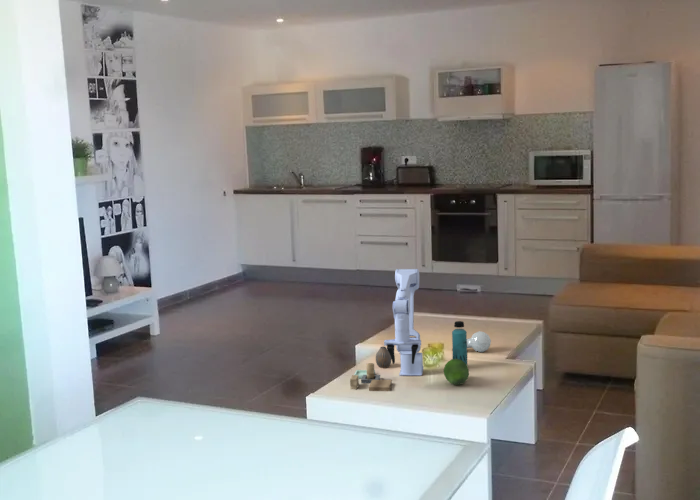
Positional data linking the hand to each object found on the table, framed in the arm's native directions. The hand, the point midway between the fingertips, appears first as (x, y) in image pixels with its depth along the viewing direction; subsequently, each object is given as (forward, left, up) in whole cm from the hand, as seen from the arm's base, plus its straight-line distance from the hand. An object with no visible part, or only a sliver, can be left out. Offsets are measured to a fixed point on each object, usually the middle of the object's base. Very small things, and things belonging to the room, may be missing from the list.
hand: (403, 363), depth 321 cm
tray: (+18, -15, -10) cm, 26 cm away
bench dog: (+20, 0, -10) cm, 22 cm away
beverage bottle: (-22, -29, -10) cm, 37 cm away
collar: (+14, -9, -10) cm, 20 cm away
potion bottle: (-28, -55, -10) cm, 62 cm away
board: (+9, 0, -10) cm, 14 cm away
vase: (+11, -30, -10) cm, 34 cm away
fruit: (-21, -7, -10) cm, 24 cm away
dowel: (+14, -9, -10) cm, 20 cm away
